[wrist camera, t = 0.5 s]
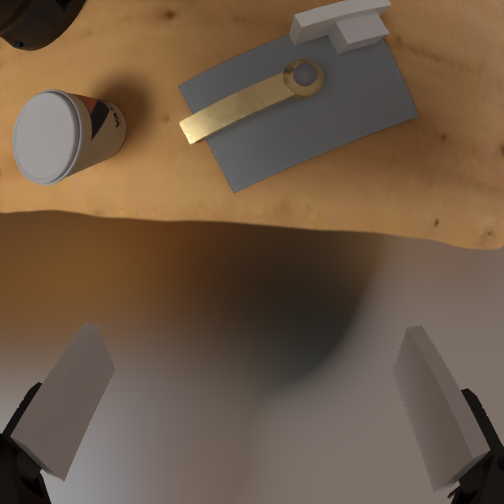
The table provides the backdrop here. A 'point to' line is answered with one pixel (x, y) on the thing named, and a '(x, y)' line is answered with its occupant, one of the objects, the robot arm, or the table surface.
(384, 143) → the table surface
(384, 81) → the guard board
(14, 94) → the table surface
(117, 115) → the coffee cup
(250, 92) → the swing bar
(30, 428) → the robot arm
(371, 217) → the table surface
